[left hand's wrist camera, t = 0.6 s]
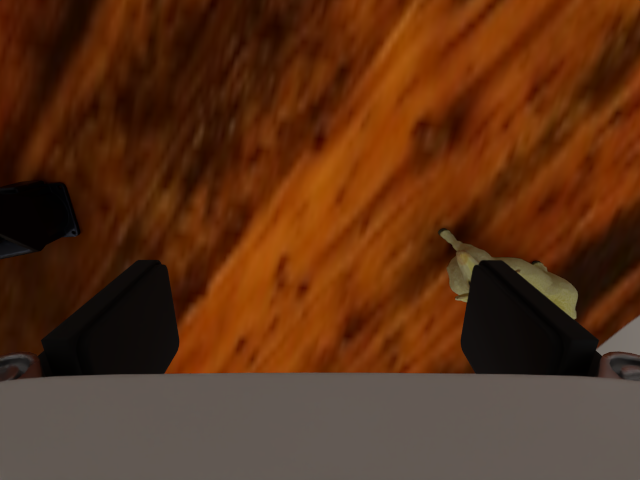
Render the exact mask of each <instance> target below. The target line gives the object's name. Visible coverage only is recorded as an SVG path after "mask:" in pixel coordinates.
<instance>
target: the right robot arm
mask: <svg viewBox="0 0 640 480" xmlns="http://www.w3.org/2000/svg"><path fill="white" fill-rule="evenodd" d="M59 186H61V188H60V187H59ZM74 231H75V232H76V233H74ZM79 234H80V230H79V227H78V224H77V221H76V217H75V214H74V211H73V208H72V205H71V202H70V198H69V195H68V192H67V189H66V186H65V185H64V184H63V183H49V184H45V183H44V182H43V181H27V182H19V183H15V184H10V185H6V186H2V187H0V259H4V258H9V257H14V256H19V255H24V254H28V253H33V252H38V251H41V250H42V249H43V248H44V247H45V245H47V244H49V243H51V242H53V241H55V240H57V239H59V238H61V237H73V236H77V235H79Z"/></svg>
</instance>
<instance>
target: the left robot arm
mask: <svg viewBox="0 0 640 480" xmlns="http://www.w3.org/2000/svg"><path fill="white" fill-rule="evenodd" d="M41 342H42V345H43V348H44V351H43V352H42V353H41V354H40V355H39V356H37V355H36V354H34V353H31V352H14V353H8V354H4V355H0V480H640V355H636V354H632V353H626V352H609V353H606V354H604V355H603V356H601V355H600V354H599V353H598V352H597V351H596V348H597V345H598V342H599V340H598V339H597V338H596V337H594V336H593V335H592V334H591V333H589V332H588V331H587V330H586V329H585V328H583V327H582V326H581V325H580V324H579V323H577V322H576V321H575V320H574V319H573V318H571V317H570V316H569V315H568V314H567V313H565V312H564V311H563V310H562V309H561V308H559V307H558V306H557V305H556V304H555V303H553V302H552V301H551V300H550V299H548V298H547V297H546V296H545V295H544V294H542V293H541V292H540V291H539V290H538V289H536V288H535V287H534V286H533V285H532V284H530V283H529V282H528V281H527V280H526V279H524V278H523V277H522V276H521V275H520V274H518V273H517V272H516V271H515V270H514V269H512V268H511V267H510V266H509V265H508V264H506V263H505V262H504V261H502V260H481V261H480V262H479V264H478V265H475V266H474V267H473V270H472V275H471V281H470V287H469V293H468V299H467V305H466V311H465V317H464V323H463V329H462V335H461V347H462V351H463V353H464V354H465V356H466V358H467V359H468V361H469V363H470V365H471V366H472V368H473V370H474V371H475V373H476V374H423V373H210V374H164V373H165V371H166V370H167V368H168V366H169V365H170V363H171V361H172V359H173V358H174V356H175V354H176V353H177V351H178V347H179V335H178V329H177V323H176V317H175V311H174V305H173V299H172V293H171V287H170V281H169V275H168V270H167V267H166V266H165V265H162V264H161V262H160V261H159V260H138V261H136V262H135V263H134V264H132V265H131V266H130V267H129V268H128V269H126V270H125V271H124V272H123V273H122V274H120V275H119V276H118V277H117V278H116V279H114V280H113V281H112V282H111V283H110V284H108V285H107V286H106V287H105V288H104V289H102V290H101V291H100V292H99V293H98V294H96V295H95V296H94V297H93V298H92V299H90V300H89V301H88V302H87V303H85V304H84V305H83V306H82V307H81V308H79V309H78V310H77V311H76V312H75V313H73V314H72V315H71V316H70V317H69V318H67V319H66V320H65V321H64V322H63V323H61V324H60V325H59V326H58V327H57V328H55V329H54V330H53V331H52V332H51V333H49V334H48V335H47V336H46V337H44V338H43V339H42V340H41Z"/></svg>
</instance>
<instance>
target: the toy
mask: <svg viewBox="0 0 640 480" xmlns="http://www.w3.org/2000/svg"><path fill="white" fill-rule="evenodd" d="M438 233H439V235H440V236H441V237H443V238H444V239H445V240H446V241H447V242H448V243H451V244H452V245H453V248H455V250H456V251H457V252H456V256H455V257H454V258H453V259H452V260H451V261H450V263H449V265H448V267H447V271H448V274H449V279H450V281H449V283H450V288H451V289H452V290H453V291H454V292H455V293H457V294H458V295H459V296H456V297H455V299H456V300H461V301H464V302H467V299H468V293H469V287H470V281H471V275H472V270H473V267H474V266H475V265H478V264H479V262H480V261H481V260H502V261H504V262H505V263H506V264H508V265H509V266H510V267H511V268H512V269H514V270H515V271H516V272H517V273H518V274H520V275H521V276H522V277H523V278H524V279H526V280H527V281H528V282H529V283H530V284H532V285H533V286H534V287H535V288H536V289H538V290H539V291H540V292H541V293H542V294H544V295H545V296H546V297H547V298H548V299H550V300H551V301H552V302H553V303H555V304H556V305H557V306H558V307H559V308H561V309H562V310H563V311H564V312H565V313H567V314H568V315H569V316H570V317H571V318H573V319H575V318H576V311H575V306H576V302H577V298H578V294H577V291H576V289H575V288H574V287H573V286H572V285H571V284H570V283H569V282H568V281H566V280H565V279H563V278H561V277H558V276H556V275H554V274H552V273H550V272H547V268H546V267H545V266H544V265H543V264H542V263H541V262H539V261H533V263H532V264H530V263H528V262H526V261H524V260H522V259H519V258H509V257H497V258H494V257H491V256H490V255H489V254H488V253H487V252H486V251H484V250H482V249H478V248H476V247H474V246H472V245H470V244H463V243H462V242H460V241H457V240H456V239H455V237H454V236H453V234H451V232H450V231H449V230H447V229H445V228H443V229H440V230H439V232H438Z"/></svg>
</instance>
